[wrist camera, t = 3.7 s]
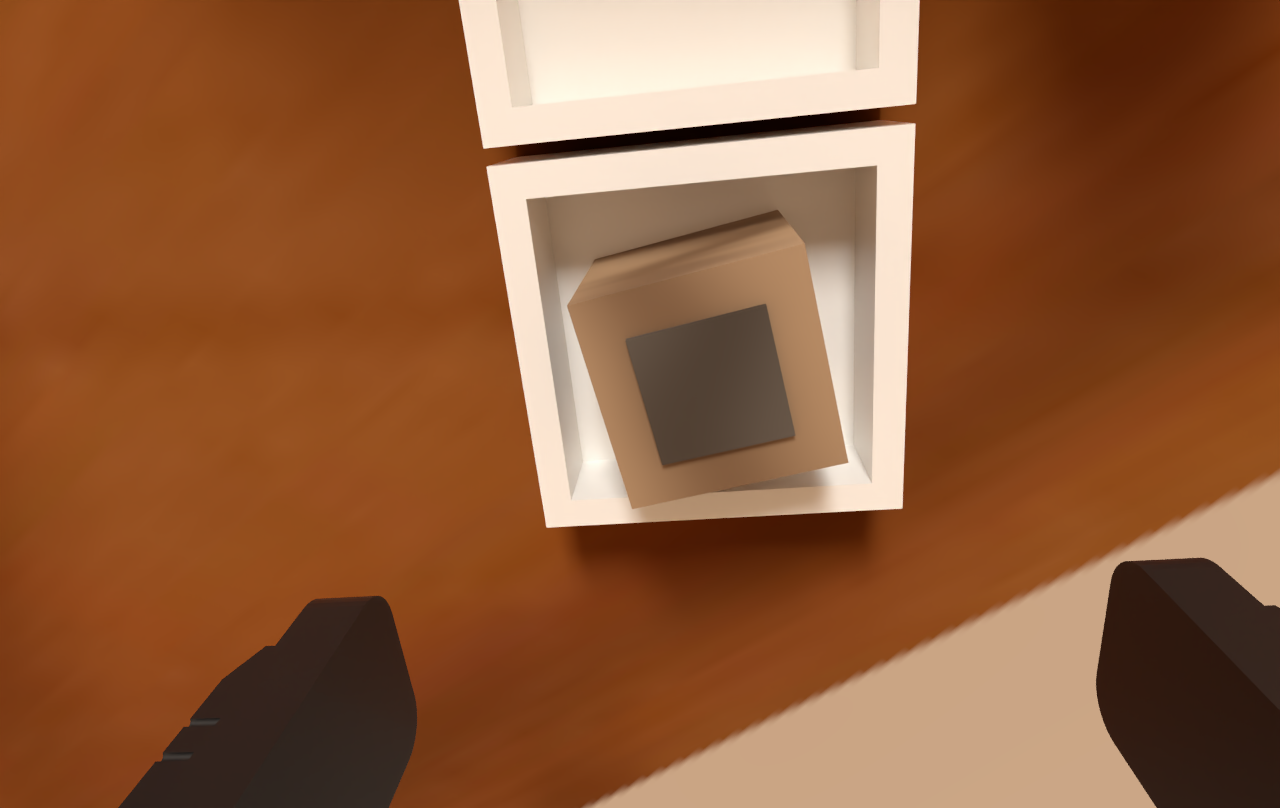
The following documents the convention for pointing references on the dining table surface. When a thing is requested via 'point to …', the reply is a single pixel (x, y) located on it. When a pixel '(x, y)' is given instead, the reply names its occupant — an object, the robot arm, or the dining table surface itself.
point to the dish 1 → (680, 63)
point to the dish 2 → (693, 201)
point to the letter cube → (709, 360)
